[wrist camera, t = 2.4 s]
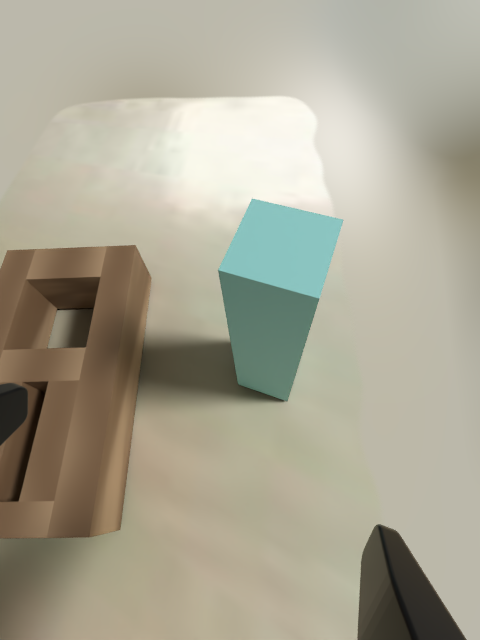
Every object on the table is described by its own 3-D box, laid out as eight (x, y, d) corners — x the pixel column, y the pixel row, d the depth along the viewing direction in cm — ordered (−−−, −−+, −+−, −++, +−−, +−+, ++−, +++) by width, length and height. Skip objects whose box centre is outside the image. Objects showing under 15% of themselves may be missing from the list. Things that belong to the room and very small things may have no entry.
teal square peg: (287, 401, 22) (319, 298, 11) (238, 384, 23) (218, 270, 11) (301, 355, 24) (343, 219, 12) (254, 340, 24) (252, 198, 13)
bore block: (-36, 531, 20) (-100, 539, 16) (39, 282, 27) (7, 250, 24) (120, 529, 19) (89, 537, 16) (151, 278, 27) (135, 245, 24)
